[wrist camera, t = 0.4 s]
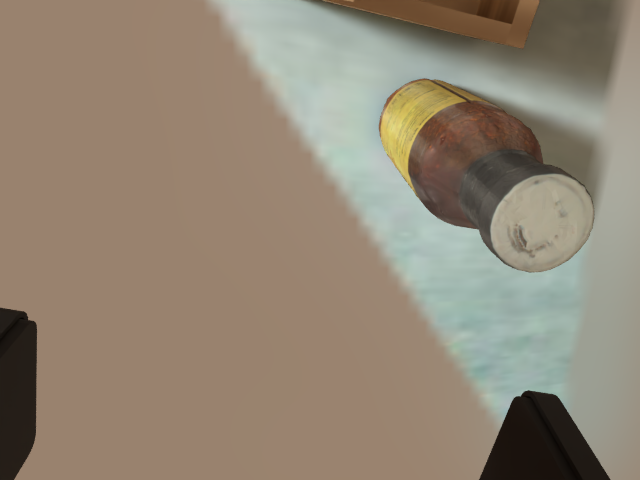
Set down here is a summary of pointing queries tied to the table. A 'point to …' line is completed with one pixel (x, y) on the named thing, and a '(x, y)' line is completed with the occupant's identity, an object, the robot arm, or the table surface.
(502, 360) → the table surface
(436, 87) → the sauce bottle
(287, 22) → the table surface
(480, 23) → the box
